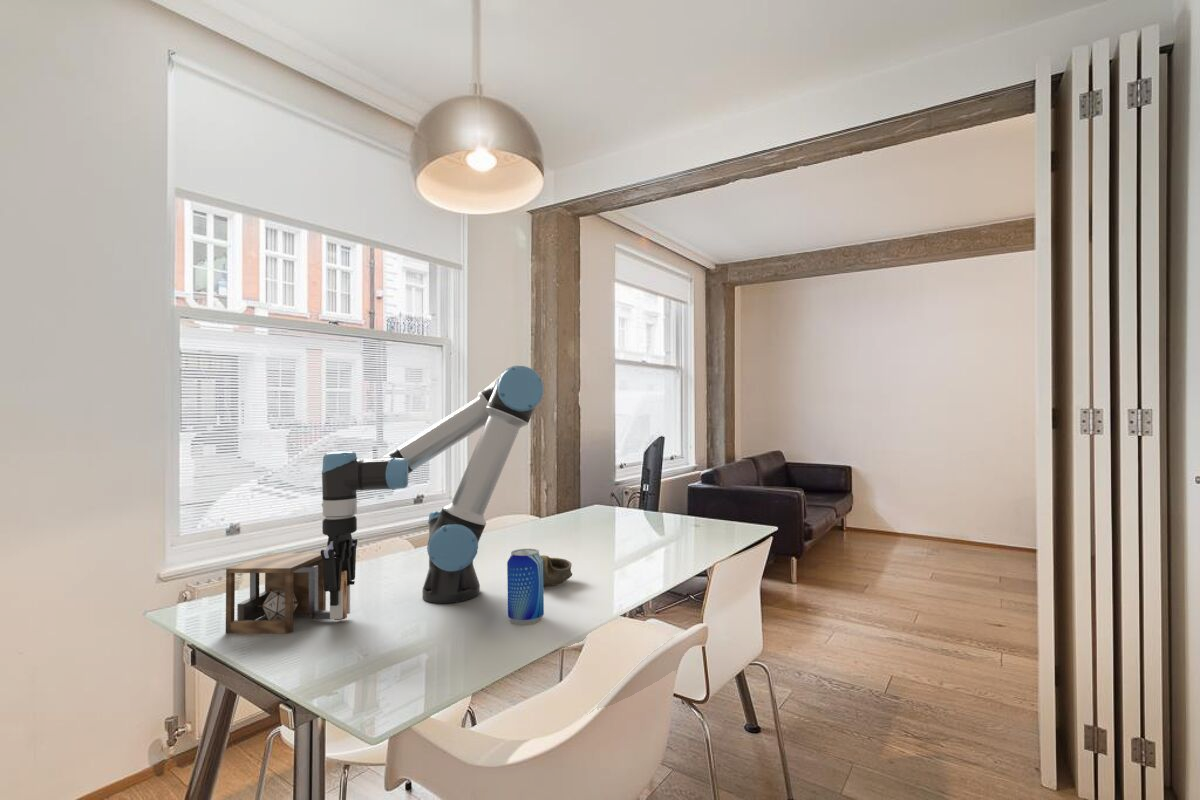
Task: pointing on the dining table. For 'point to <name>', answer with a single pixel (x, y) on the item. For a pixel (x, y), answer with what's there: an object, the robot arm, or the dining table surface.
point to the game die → (277, 604)
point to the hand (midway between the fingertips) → (340, 615)
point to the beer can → (525, 586)
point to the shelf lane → (277, 578)
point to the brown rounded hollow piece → (555, 570)
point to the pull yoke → (251, 606)
